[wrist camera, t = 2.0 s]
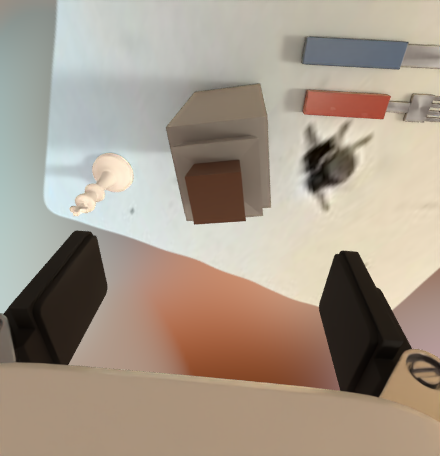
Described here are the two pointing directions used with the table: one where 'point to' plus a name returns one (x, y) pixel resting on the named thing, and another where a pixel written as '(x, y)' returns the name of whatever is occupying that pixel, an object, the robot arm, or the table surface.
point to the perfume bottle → (222, 154)
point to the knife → (369, 53)
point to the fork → (369, 105)
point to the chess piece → (104, 181)
